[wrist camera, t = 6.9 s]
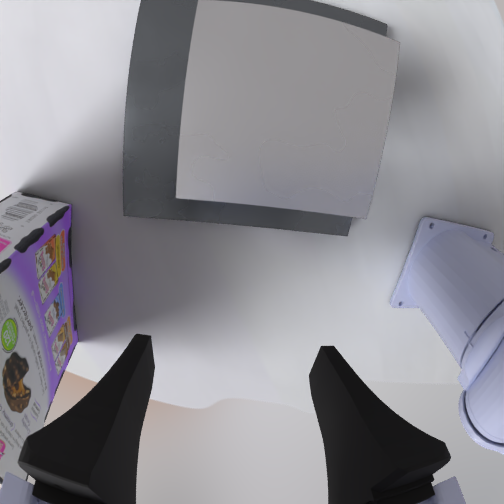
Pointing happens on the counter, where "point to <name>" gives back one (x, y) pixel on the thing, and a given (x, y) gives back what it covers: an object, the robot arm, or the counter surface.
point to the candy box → (32, 317)
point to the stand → (169, 121)
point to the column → (284, 109)
